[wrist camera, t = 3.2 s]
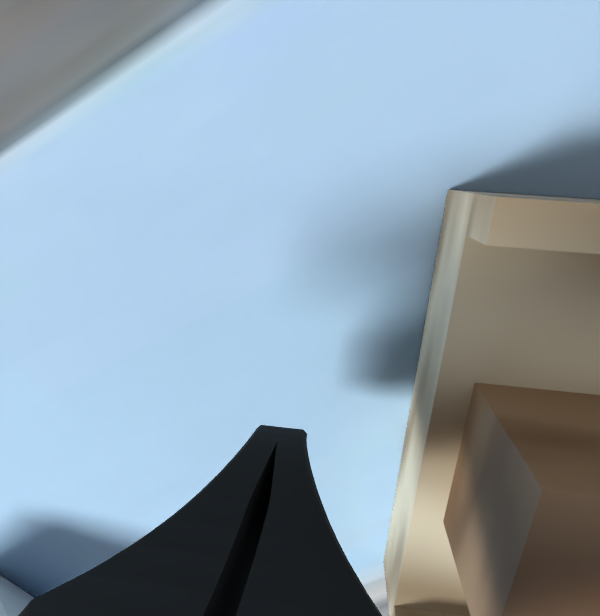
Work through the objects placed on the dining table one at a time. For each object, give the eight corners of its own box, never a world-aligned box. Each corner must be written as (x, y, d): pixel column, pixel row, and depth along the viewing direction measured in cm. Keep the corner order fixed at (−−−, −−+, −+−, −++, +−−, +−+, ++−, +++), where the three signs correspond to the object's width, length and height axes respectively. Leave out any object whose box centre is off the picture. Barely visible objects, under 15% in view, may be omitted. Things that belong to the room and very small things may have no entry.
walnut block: (608, 542, 12) (724, 703, 9) (443, 521, 13) (485, 667, 9) (666, 401, 11) (840, 524, 7) (474, 382, 11) (542, 489, 7)
